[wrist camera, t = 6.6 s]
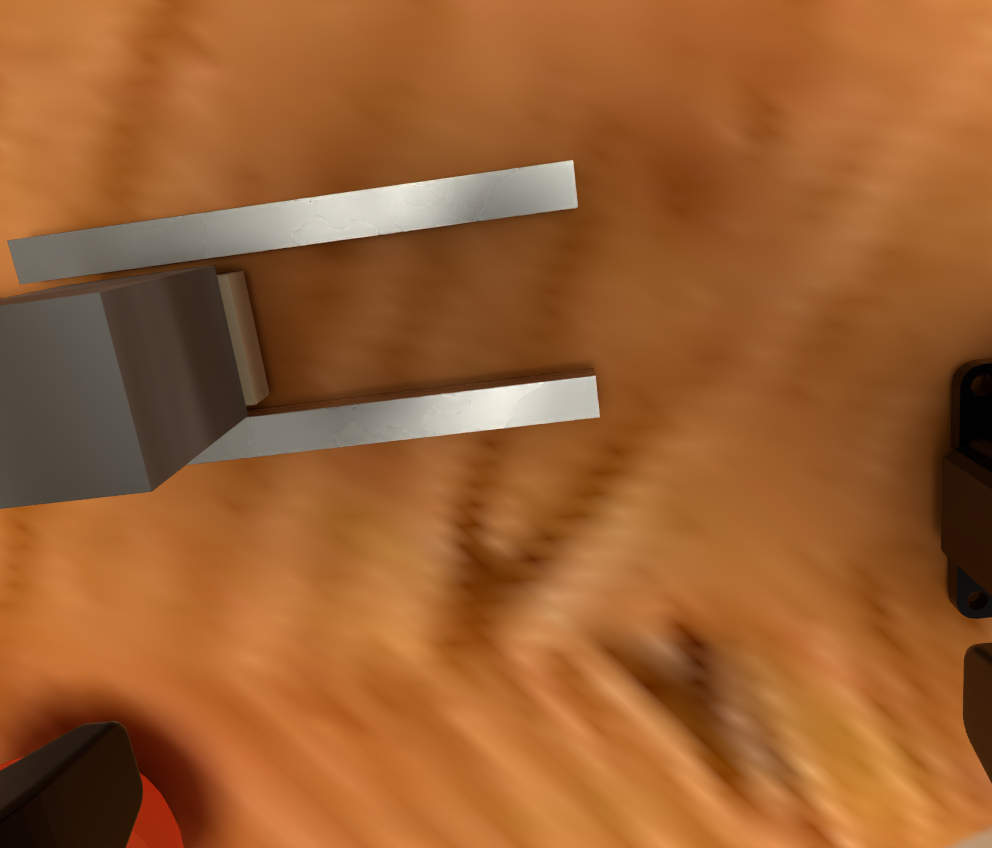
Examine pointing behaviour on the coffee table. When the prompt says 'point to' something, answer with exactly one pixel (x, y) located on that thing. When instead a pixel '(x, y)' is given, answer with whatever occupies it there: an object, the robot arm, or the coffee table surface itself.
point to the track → (334, 222)
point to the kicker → (121, 381)
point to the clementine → (149, 820)
